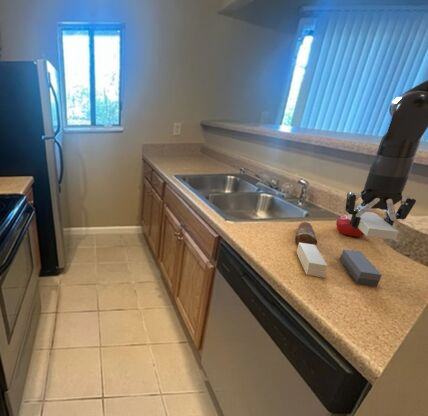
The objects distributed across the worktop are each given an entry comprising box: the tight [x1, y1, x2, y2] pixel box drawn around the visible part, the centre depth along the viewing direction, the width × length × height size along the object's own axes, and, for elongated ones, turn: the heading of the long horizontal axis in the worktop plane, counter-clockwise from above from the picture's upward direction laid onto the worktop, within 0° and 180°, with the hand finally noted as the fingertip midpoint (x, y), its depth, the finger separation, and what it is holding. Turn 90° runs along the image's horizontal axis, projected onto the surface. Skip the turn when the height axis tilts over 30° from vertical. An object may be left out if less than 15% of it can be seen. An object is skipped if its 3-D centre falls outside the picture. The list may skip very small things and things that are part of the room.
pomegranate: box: [335, 212, 366, 238], centre depth 105 cm, size 10×10×9 cm
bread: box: [294, 221, 318, 246], centre depth 103 cm, size 6×19×6 cm, turn 143°
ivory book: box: [347, 211, 400, 241], centre depth 78 cm, size 6×14×2 cm, turn 157°
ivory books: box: [296, 243, 328, 279], centre depth 87 cm, size 4×14×4 cm, turn 157°
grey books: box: [339, 248, 382, 288], centre depth 83 cm, size 4×14×4 cm, turn 157°
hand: (368, 229), depth 79 cm, fingers closed on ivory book, 6 cm apart
